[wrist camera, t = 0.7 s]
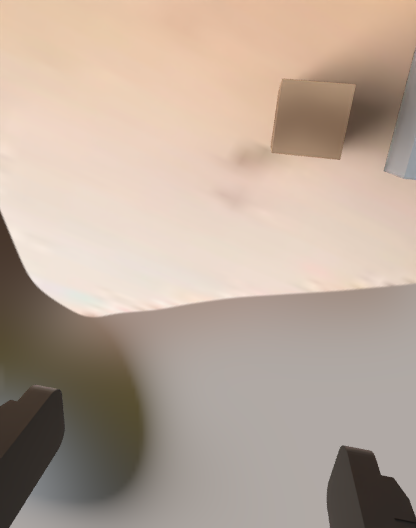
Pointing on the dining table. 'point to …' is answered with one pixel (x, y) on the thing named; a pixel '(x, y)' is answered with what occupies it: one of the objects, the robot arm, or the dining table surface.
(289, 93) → the peg
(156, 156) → the dining table surface
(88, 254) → the dining table surface
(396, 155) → the walled box
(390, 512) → the robot arm
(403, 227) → the dining table surface
